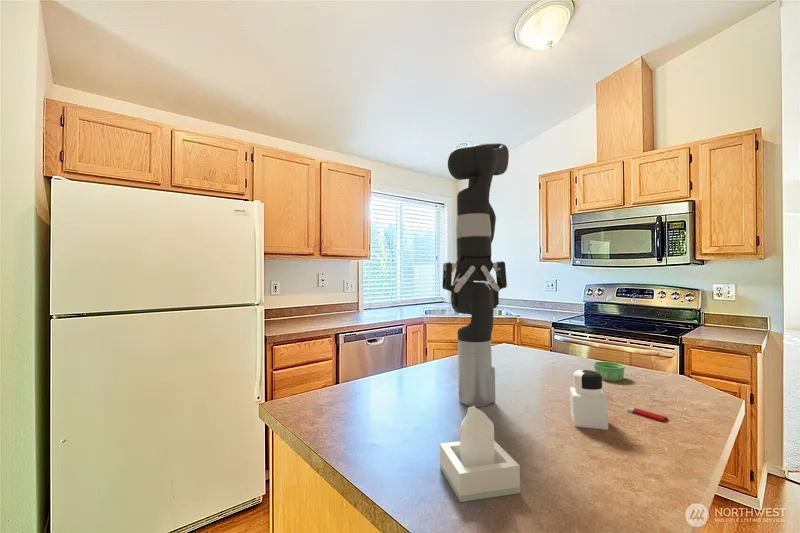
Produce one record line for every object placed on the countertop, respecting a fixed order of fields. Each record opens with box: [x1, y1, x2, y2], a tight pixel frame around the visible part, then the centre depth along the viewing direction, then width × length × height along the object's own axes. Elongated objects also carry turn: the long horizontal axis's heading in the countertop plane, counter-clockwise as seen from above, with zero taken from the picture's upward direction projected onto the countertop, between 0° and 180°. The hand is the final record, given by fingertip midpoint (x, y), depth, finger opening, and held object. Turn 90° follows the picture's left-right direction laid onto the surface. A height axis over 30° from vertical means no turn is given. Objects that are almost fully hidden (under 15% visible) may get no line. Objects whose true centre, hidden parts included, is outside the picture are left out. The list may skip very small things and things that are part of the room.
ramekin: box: [593, 360, 625, 382], centre depth 122 cm, size 9×9×4 cm
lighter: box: [626, 407, 669, 423], centre depth 91 cm, size 3×1×8 cm
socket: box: [439, 439, 521, 503], centre depth 65 cm, size 10×10×4 cm
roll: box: [459, 406, 495, 468], centre depth 65 cm, size 6×12×6 cm
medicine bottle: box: [569, 369, 609, 431], centre depth 87 cm, size 7×7×12 cm
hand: (475, 308), depth 82 cm, fingers open, 8 cm apart
